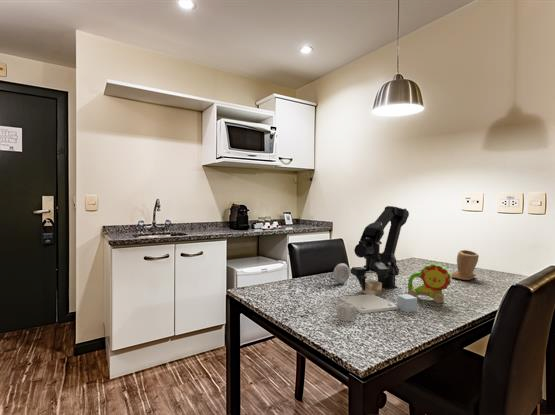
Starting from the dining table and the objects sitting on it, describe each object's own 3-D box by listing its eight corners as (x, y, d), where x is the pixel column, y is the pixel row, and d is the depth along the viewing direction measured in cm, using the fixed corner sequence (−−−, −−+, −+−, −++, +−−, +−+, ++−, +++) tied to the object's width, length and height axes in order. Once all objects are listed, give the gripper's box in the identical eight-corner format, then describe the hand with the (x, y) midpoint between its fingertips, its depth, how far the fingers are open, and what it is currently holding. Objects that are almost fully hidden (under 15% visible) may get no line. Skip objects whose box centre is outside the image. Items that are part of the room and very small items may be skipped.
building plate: (372, 296, 134) (372, 292, 134) (398, 309, 119) (398, 305, 119) (339, 299, 129) (339, 295, 129) (361, 313, 114) (361, 309, 114)
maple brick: (373, 290, 143) (373, 279, 143) (381, 294, 137) (381, 283, 137) (361, 291, 141) (362, 280, 141) (369, 295, 136) (370, 284, 135)
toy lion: (406, 298, 132) (407, 262, 132) (408, 294, 137) (409, 260, 137) (449, 305, 124) (451, 266, 124) (450, 301, 129) (451, 264, 129)
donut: (345, 281, 157) (346, 261, 157) (351, 283, 154) (351, 262, 154) (331, 284, 151) (331, 263, 151) (336, 286, 149) (337, 265, 148)
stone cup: (473, 283, 158) (474, 253, 157) (448, 278, 167) (449, 250, 166) (482, 278, 168) (483, 250, 168) (458, 274, 177) (459, 247, 176)
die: (356, 319, 108) (356, 304, 108) (349, 323, 105) (349, 308, 105) (343, 315, 112) (344, 301, 112) (336, 319, 108) (336, 304, 108)
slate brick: (407, 306, 122) (407, 294, 122) (416, 311, 117) (417, 297, 117) (396, 308, 120) (397, 295, 120) (405, 312, 116) (406, 299, 115)
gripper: (365, 259, 128) (364, 297, 129) (402, 257, 134) (401, 293, 135) (350, 254, 139) (349, 289, 140) (385, 252, 145) (385, 286, 145)
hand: (371, 289), depth 140 cm, fingers open, 8 cm apart
